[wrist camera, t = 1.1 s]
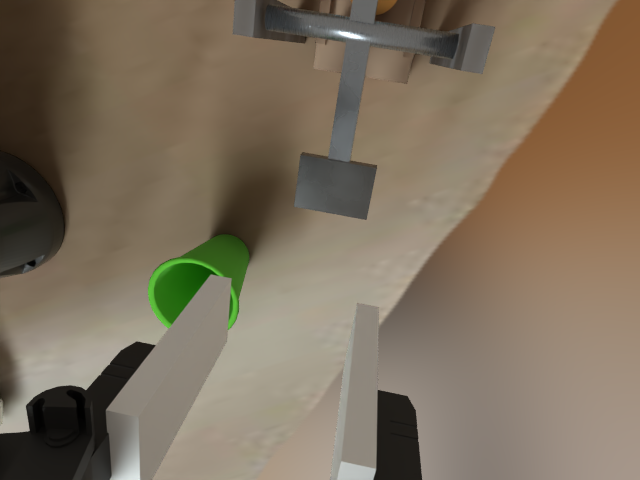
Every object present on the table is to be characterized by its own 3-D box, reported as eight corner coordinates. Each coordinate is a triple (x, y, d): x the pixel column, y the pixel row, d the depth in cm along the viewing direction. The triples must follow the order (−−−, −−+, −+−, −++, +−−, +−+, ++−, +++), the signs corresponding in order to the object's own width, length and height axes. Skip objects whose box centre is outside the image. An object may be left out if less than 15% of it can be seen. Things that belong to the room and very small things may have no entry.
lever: (282, 162, 41) (246, 202, 30) (311, -93, 33) (276, -165, 22) (404, 183, 40) (412, 233, 29) (463, -72, 32) (504, -135, 21)
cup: (244, 206, 50) (210, 245, 40) (278, 274, 53) (254, 326, 43) (178, 232, 52) (129, 274, 42) (214, 295, 55) (176, 350, 45)
